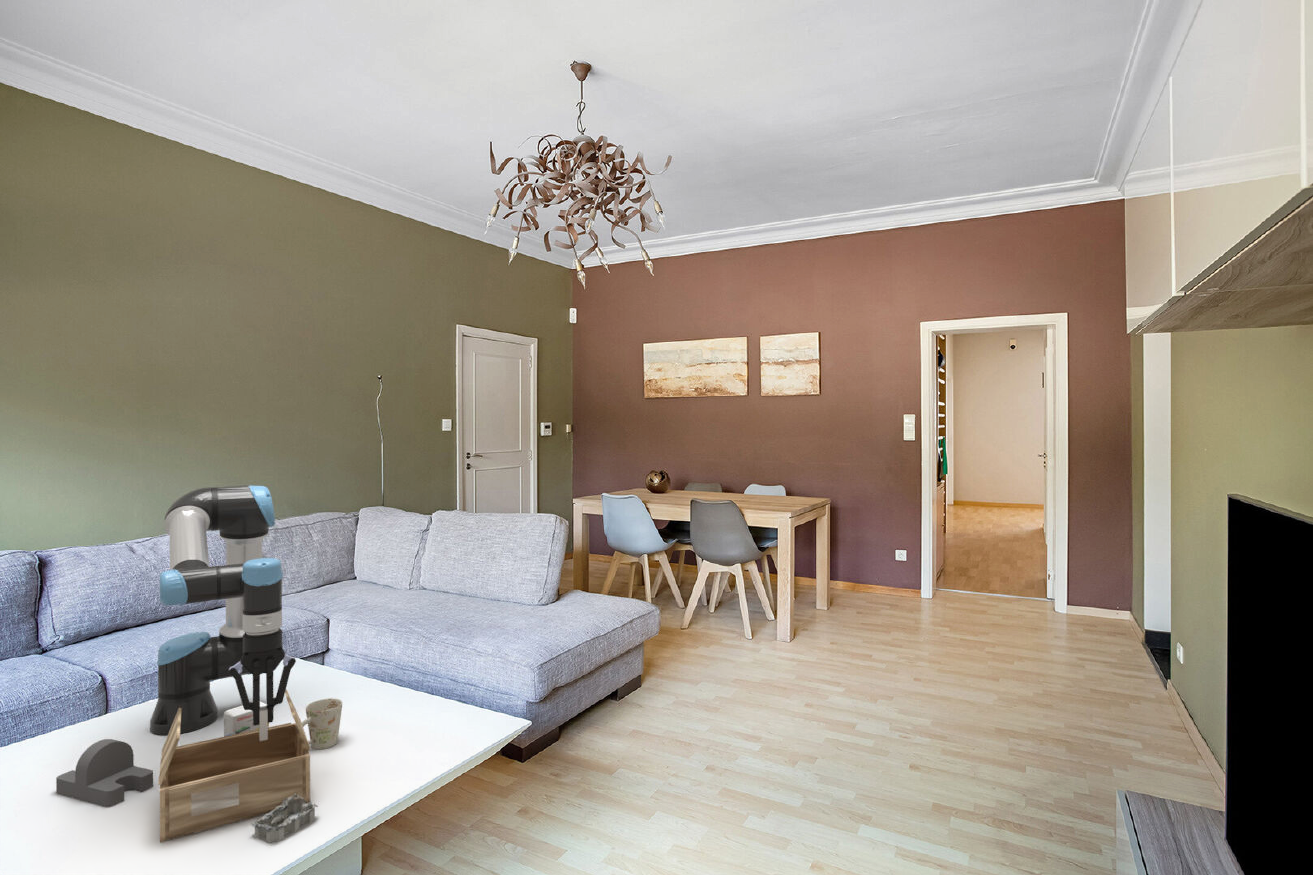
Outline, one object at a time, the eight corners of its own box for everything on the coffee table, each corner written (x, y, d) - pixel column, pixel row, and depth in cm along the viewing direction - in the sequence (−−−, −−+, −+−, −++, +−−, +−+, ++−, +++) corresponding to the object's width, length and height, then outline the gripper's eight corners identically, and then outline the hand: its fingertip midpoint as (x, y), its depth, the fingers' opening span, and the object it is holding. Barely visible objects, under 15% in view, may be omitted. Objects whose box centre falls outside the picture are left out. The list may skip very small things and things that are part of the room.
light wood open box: (164, 794, 150) (164, 749, 149) (298, 762, 164) (298, 720, 164) (159, 844, 131) (159, 792, 131) (310, 803, 146) (310, 756, 146)
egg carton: (298, 810, 144) (298, 790, 144) (321, 819, 141) (321, 799, 141) (247, 836, 135) (247, 815, 135) (271, 847, 131) (271, 825, 131)
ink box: (233, 765, 163) (233, 715, 163) (223, 759, 166) (222, 711, 165) (270, 751, 170) (269, 703, 170) (259, 746, 173) (259, 699, 173)
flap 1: (164, 749, 148) (162, 749, 148) (181, 707, 150) (178, 707, 149) (161, 784, 133) (158, 784, 133) (179, 738, 135) (176, 738, 134)
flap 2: (283, 689, 161) (285, 688, 161) (298, 721, 162) (300, 720, 163) (292, 715, 146) (294, 714, 146) (308, 750, 147) (310, 749, 148)
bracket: (109, 809, 144) (108, 758, 144) (53, 793, 150) (53, 744, 150) (155, 786, 153) (155, 738, 153) (101, 773, 159) (101, 727, 159)
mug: (349, 739, 176) (349, 700, 176) (310, 761, 165) (310, 720, 164) (324, 734, 179) (324, 696, 179) (284, 756, 167) (283, 715, 167)
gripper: (228, 639, 144) (228, 752, 144) (298, 629, 151) (298, 737, 151) (227, 631, 150) (227, 738, 150) (294, 622, 157) (295, 724, 157)
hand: (263, 737), depth 150 cm, fingers closed
